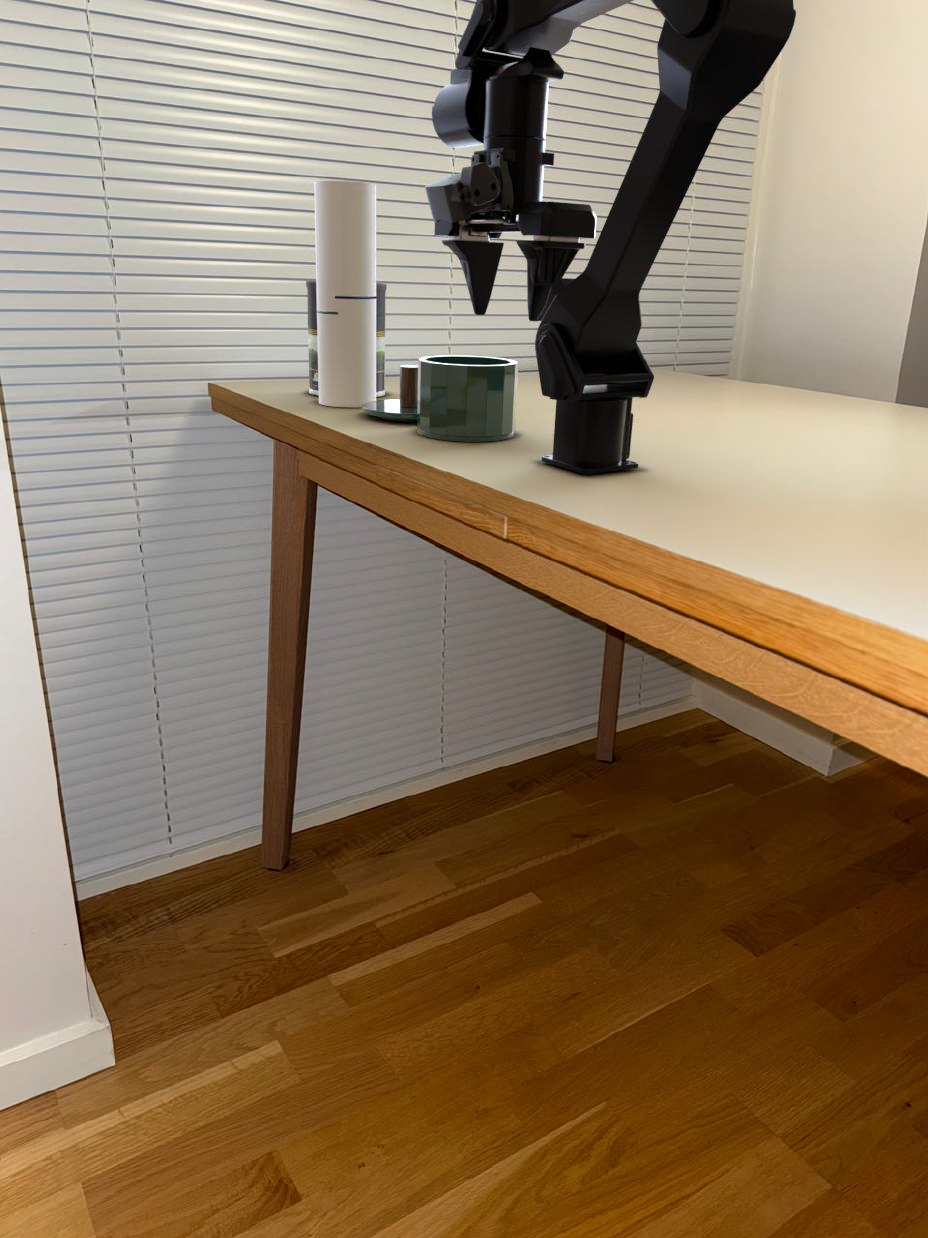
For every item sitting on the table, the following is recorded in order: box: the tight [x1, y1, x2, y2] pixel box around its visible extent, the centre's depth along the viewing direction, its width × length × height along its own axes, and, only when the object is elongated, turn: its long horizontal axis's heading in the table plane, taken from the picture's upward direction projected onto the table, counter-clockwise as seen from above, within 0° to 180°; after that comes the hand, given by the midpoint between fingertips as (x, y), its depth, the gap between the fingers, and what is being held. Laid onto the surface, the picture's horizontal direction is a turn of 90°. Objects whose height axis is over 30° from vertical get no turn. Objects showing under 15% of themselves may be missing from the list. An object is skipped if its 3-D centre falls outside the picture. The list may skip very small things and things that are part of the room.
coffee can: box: [305, 279, 388, 398], centre depth 122 cm, size 10×10×14 cm
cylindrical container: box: [313, 180, 377, 408], centre depth 112 cm, size 7×7×25 cm
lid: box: [360, 364, 418, 423], centre depth 107 cm, size 11×11×6 cm
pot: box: [416, 355, 519, 443], centre depth 98 cm, size 10×10×8 cm
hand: (506, 317), depth 91 cm, fingers open, 9 cm apart
